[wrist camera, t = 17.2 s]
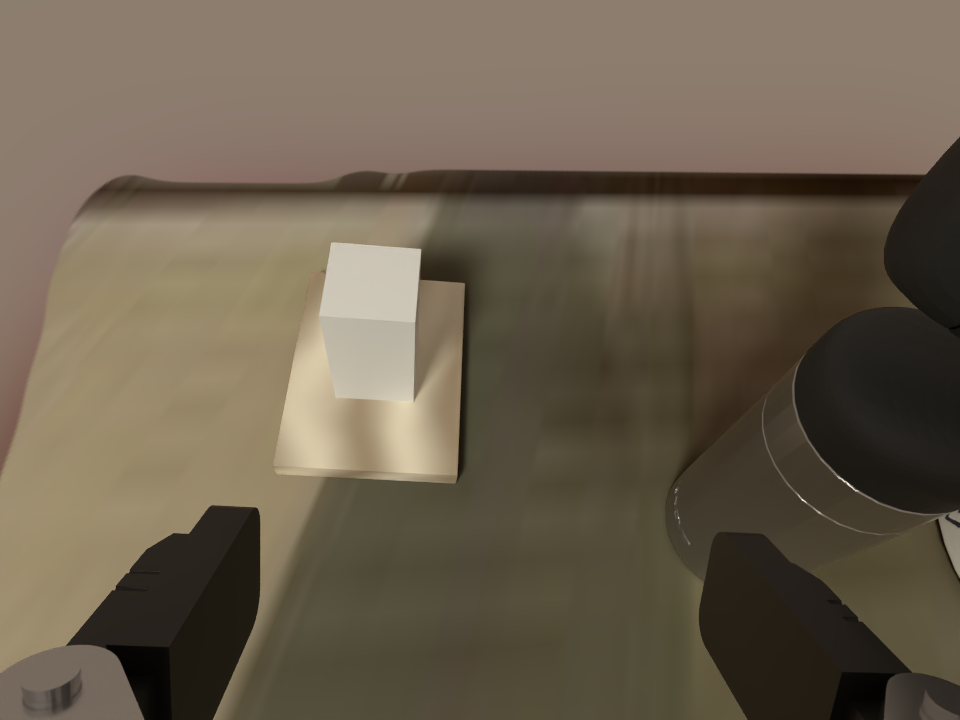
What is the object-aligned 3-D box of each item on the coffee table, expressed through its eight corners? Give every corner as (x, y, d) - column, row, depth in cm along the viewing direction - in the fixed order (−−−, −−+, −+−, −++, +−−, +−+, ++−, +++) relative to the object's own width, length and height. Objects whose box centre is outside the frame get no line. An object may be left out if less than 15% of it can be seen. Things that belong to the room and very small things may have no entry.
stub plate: (463, 294, 52) (469, 249, 48) (455, 483, 44) (461, 452, 39) (313, 283, 51) (303, 236, 47) (276, 474, 43) (261, 441, 38)
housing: (418, 337, 48) (421, 249, 39) (413, 402, 45) (415, 322, 37) (344, 332, 48) (331, 242, 39) (335, 397, 45) (318, 315, 36)
